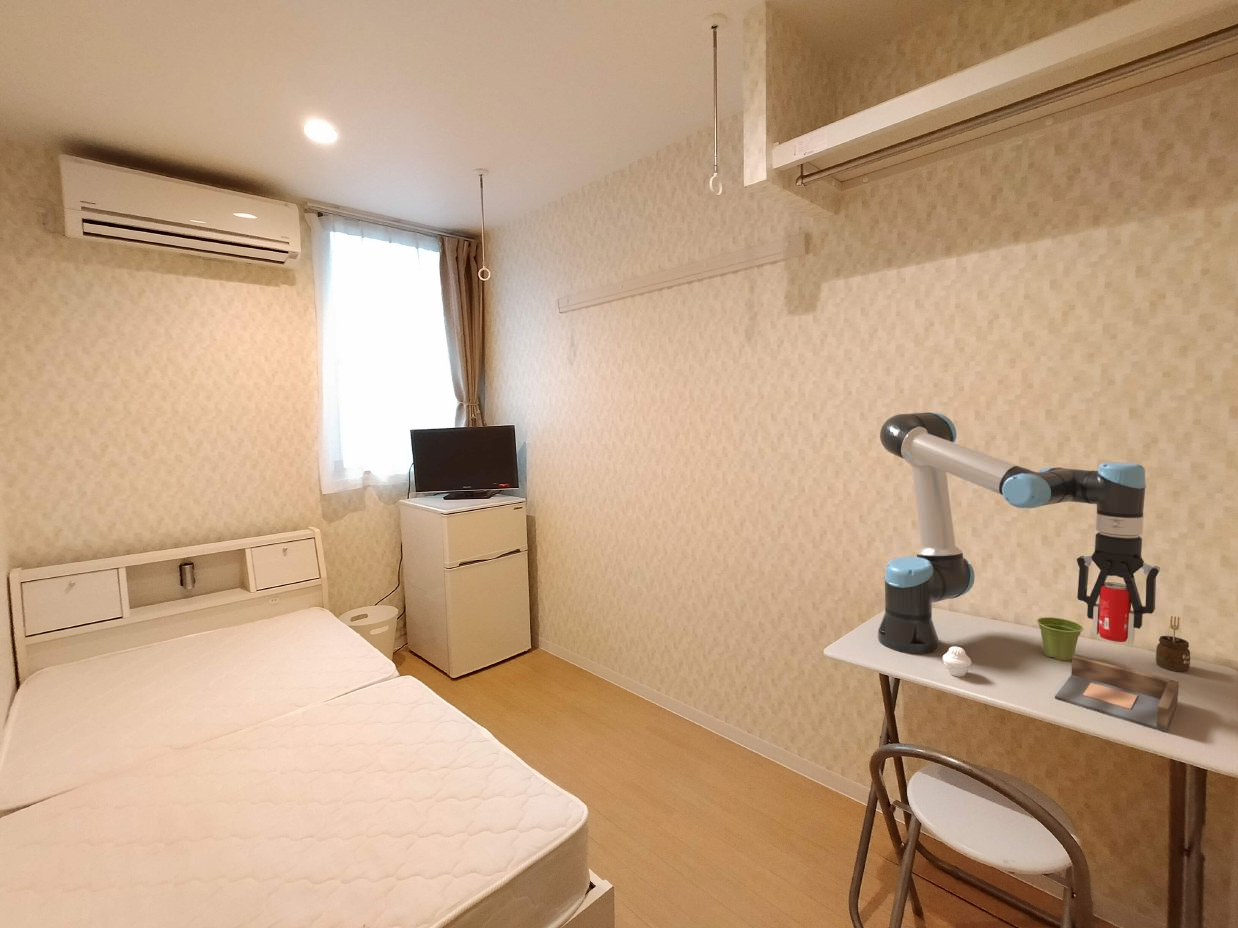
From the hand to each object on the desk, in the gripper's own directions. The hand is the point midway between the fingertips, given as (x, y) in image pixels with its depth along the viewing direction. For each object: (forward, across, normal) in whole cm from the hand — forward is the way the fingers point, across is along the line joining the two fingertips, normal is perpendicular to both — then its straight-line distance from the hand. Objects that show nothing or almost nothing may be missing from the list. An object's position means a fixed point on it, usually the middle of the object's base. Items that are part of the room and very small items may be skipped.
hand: (1113, 636), depth 122 cm
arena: (+14, +1, 0) cm, 14 cm away
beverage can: (0, 0, 0) cm, 0 cm away
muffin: (+15, -27, -12) cm, 33 cm away
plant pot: (+15, -13, +18) cm, 26 cm away
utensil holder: (+15, +7, +30) cm, 34 cm away
